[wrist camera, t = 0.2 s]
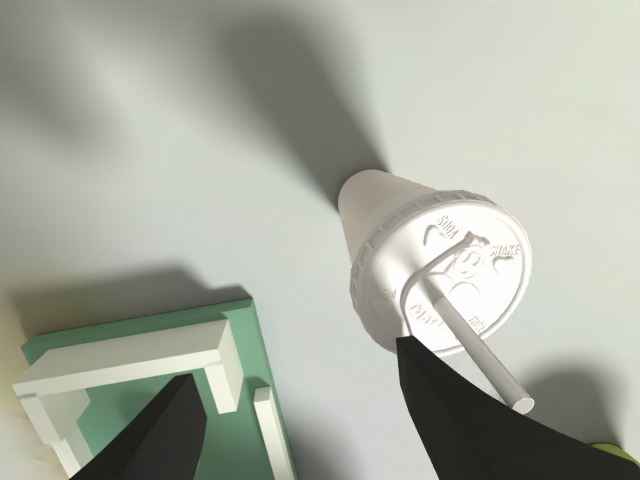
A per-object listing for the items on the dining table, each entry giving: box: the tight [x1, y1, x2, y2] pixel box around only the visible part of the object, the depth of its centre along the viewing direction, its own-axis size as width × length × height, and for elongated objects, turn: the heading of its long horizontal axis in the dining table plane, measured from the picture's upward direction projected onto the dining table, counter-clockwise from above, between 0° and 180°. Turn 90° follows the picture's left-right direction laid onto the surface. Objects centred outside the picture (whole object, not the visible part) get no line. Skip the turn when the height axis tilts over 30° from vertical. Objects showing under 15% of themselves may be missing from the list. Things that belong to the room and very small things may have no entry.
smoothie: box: [338, 169, 534, 414], centre depth 14 cm, size 6×6×14 cm
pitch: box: [11, 298, 298, 480], centre depth 23 cm, size 18×14×4 cm
